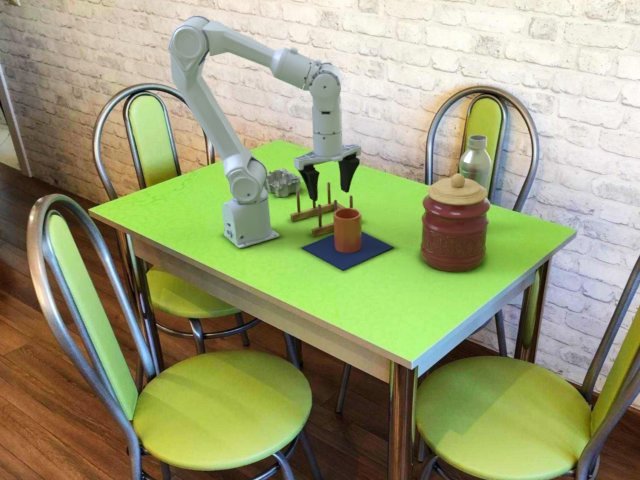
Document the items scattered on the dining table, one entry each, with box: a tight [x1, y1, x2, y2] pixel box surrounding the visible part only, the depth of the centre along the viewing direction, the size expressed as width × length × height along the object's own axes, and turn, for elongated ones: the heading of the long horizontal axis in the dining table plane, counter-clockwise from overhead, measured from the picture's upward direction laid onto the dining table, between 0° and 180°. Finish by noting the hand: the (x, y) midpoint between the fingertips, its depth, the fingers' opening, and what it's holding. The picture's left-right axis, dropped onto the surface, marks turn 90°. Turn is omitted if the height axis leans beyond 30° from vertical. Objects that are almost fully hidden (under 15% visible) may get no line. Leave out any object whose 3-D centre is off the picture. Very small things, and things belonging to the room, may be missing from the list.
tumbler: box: [332, 207, 362, 253], centre depth 142 cm, size 6×6×8 cm
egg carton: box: [263, 168, 303, 198], centre depth 169 cm, size 11×8×4 cm
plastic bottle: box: [458, 134, 492, 191], centre depth 146 cm, size 6×7×20 cm
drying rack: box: [289, 181, 354, 238], centre depth 153 cm, size 12×10×7 cm
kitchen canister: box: [420, 173, 491, 272], centre depth 135 cm, size 13×13×18 cm
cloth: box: [301, 230, 395, 272], centre depth 144 cm, size 14×13×1 cm
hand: (329, 195), depth 143 cm, fingers open, 7 cm apart
